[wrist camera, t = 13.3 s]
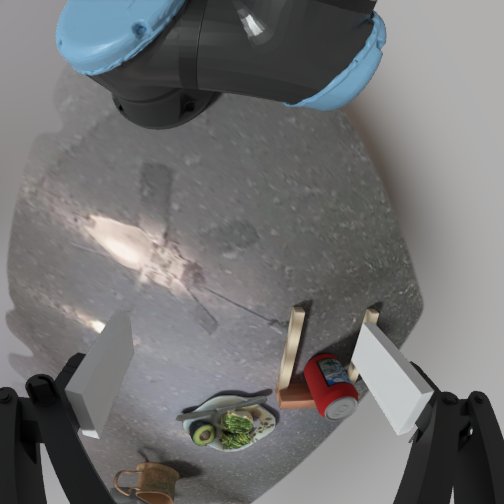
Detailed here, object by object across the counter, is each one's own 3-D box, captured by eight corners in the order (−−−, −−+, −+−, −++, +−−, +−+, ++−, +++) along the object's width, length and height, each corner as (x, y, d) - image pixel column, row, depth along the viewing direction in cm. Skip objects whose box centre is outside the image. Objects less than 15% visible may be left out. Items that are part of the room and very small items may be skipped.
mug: (135, 446, 51) (126, 484, 39) (188, 476, 55) (186, 511, 44) (111, 456, 52) (101, 489, 40) (161, 484, 56) (157, 516, 45)
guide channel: (292, 306, 44) (300, 321, 39) (374, 308, 46) (387, 321, 41) (275, 391, 48) (279, 409, 44) (347, 387, 50) (356, 403, 45)
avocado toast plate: (234, 369, 47) (235, 386, 42) (296, 411, 51) (301, 427, 47) (167, 417, 49) (164, 433, 44) (230, 451, 53) (231, 466, 49)
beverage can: (344, 360, 48) (370, 402, 36) (319, 384, 49) (339, 428, 37) (320, 345, 46) (344, 389, 35) (294, 371, 47) (311, 417, 36)
